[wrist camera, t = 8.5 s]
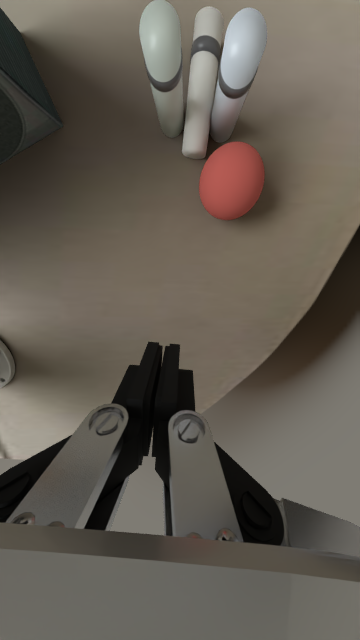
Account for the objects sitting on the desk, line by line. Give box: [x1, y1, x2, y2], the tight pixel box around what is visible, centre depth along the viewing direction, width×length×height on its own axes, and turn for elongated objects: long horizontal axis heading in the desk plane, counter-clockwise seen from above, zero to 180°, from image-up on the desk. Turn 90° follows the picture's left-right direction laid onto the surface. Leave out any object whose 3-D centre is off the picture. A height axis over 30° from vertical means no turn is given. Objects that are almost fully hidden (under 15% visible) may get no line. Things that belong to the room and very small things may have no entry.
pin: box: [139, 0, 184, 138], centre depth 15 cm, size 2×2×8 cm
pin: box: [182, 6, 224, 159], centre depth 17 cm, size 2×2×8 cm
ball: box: [199, 142, 265, 220], centre depth 18 cm, size 6×6×6 cm
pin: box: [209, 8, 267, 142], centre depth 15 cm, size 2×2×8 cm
